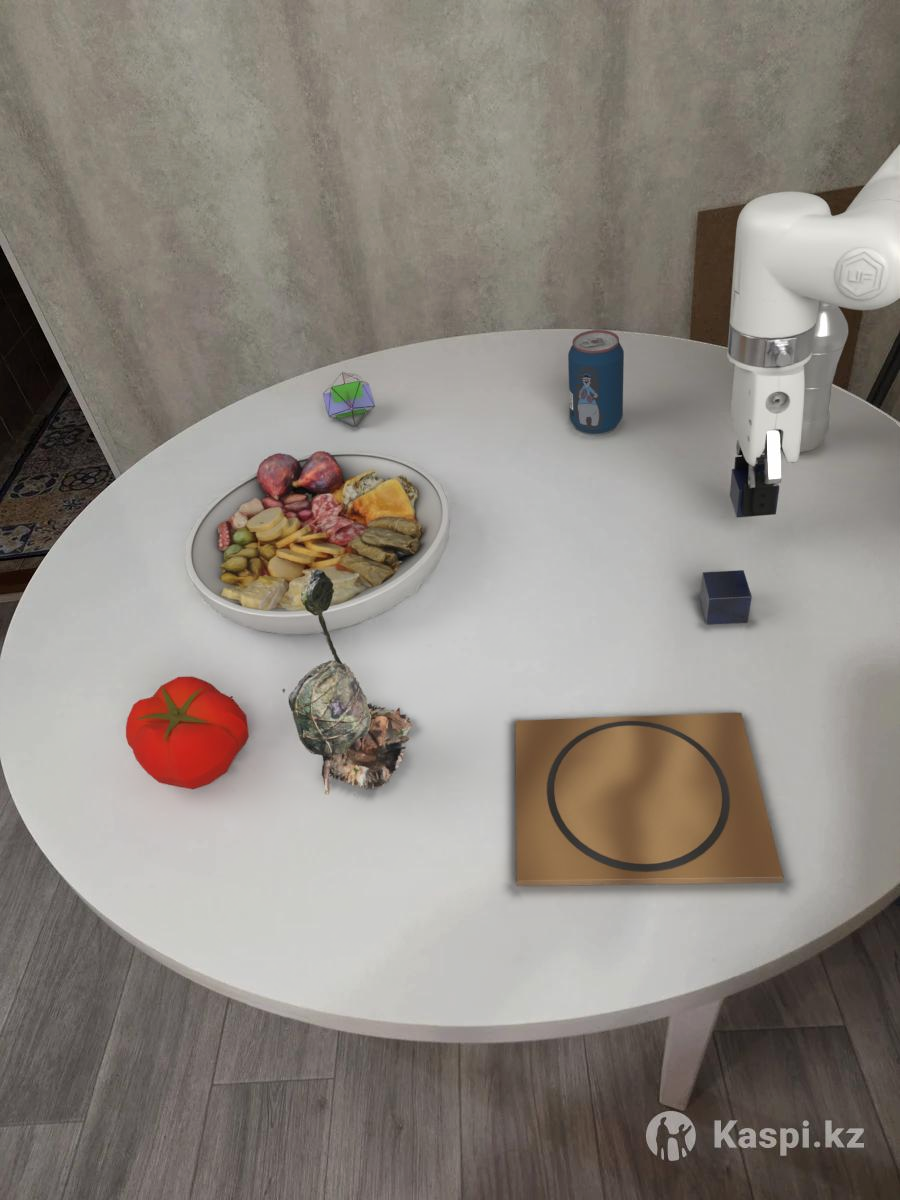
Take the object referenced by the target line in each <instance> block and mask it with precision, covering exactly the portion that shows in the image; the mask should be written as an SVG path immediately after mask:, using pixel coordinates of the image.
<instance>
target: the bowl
mask: <svg viewBox="0 0 900 1200" xmlns="http://www.w3.org/2000/svg"><path fill="white" fill-rule="evenodd" d="M450 527H451V517H450V508H449V502H448V499H447V496H446V493H445V490H444V489H443V487H442V486H441V484H440V483H439V482H438V481H437V480H436V478H435V477H433V476H432V475H431V474H430V473H429V472H428V471H426V470H425V469H423V468H422V467H420V466H419V465H417V464H414V463H413V462H410V461H409V460H406V459H403V458H401V457H397V456H393V455H389V454H384V453H378V452H372V451H359V450H345V451H344V450H343V451H330V452H327V451H324V450H320V451H319V450H318V451H315V452H314V453H312V454H310V455H305V456H301V457H297V458H296V457H294V456H292V455H291V454H287V453H281V452H278V453H274V454H271V455H269V456H268V457H266V458H264V460H262V461H261V463H259V465H258V468H257V471H256V472H255V473H253V474H251V475H249V476H248V477H246V478H244V479H242V480H241V481H239V482H237V483H236V484H234V485H233V486H231V487H229V488H228V489H227V490H225V491H224V492H223V493H222V494H220V495H219V496H218V497H217V498H216V499H214V501H212V502H211V503H210V504H209V505H208V507H207V508H206V509H204V511H203V512H202V514H201V515H200V516H199V517H198V519H197V520H196V522H195V523H194V525H193V527H192V528H191V531H190V533H189V535H188V537H187V540H186V544H185V552H184V555H185V556H184V559H185V566H186V571H187V573H188V575H189V578H190V580H191V582H192V585H193V586H194V589H196V591H197V593H198V594H199V595H200V597H201V598H202V599H203V601H204V602H205V603H207V605H209V607H210V608H211V609H212V610H214V611H216V612H217V613H218V614H220V615H222V616H223V617H224V618H226V619H228V620H230V621H231V622H234V623H236V624H238V625H241V626H244V627H246V628H249V629H252V630H256V631H260V632H263V633H272V634H279V635H309V634H310V635H311V634H319V633H324V632H323V628H322V627H321V624H320V622H319V618H318V615H317V616H315V615H313V614H311V613H310V612H309V611H307V610H306V608H305V606H304V605H303V603H302V601H301V589H302V586H303V584H304V581H305V580H306V578H307V577H308V576H309V575H310V574H311V571H312V570H313V569H315V570H322V571H323V572H324V573H325V574H326V576H327V577H328V578H330V579H331V581H332V583H333V589H334V593H333V597H332V600H331V604H330V606H329V608H328V610H327V611H324V612H322V613H323V617H324V620H325V623H326V627H327V630H328V632H331V631H336V630H340V629H345V628H348V627H351V626H354V625H357V624H360V623H363V622H365V621H368V620H370V619H372V618H375V617H377V616H379V615H382V614H383V613H385V612H387V611H389V610H390V609H392V608H394V607H395V606H397V605H398V604H400V603H402V602H403V601H404V600H406V599H407V598H408V597H409V596H411V595H412V594H413V593H414V592H415V591H416V590H418V589H419V588H420V587H421V586H422V585H423V584H424V583H425V582H426V580H427V579H428V578H429V577H430V576H431V574H432V573H433V572H434V570H435V568H436V567H437V565H438V564H439V562H440V561H441V559H442V557H443V554H444V553H445V550H446V547H447V544H448V540H449V536H450V529H451V528H450Z"/></svg>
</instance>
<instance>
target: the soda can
mask: <svg viewBox="0 0 900 1200" xmlns="http://www.w3.org/2000/svg"><path fill="white" fill-rule="evenodd" d="M624 355H625V351H624V348H623V346H622V344H621V343H620V337H619V335H617V334H616V333H614V332H612V331H610V330H605V329H591V330H587V331H583V332H581V333H579V334H577V335H576V336H575V337H574V338H573V339H572V345H571V347H570V348H569V350H568V354H567V362H568V363H567V365H568V401H569V402H568V404H569V405H568V407H569V408H568V409H569V410H568V411H569V420H570V421H571V423H572V425H573V426H574V427H575V429H576V430H577V431H578V432H579V433H581V434H584V435H589V436H602V435H606V434H610V433H611V432H613V431H614V430H615V429H617V427H618V425H619V424H620V422H621V421H622V419H623V416H624V368H625V367H624V360H625V359H624V358H625V356H624Z"/></svg>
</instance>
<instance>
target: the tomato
mask: <svg viewBox="0 0 900 1200" xmlns="http://www.w3.org/2000/svg"><path fill="white" fill-rule="evenodd" d="M248 725H249V724H248V718H247V714H246V713H245V711H244V710H243V709H242V708H241V707H240V706H239V704H238V702H236V701H235V699H234V698H232V697H231V696H229V695H226V694H225V693H223V692H221V691H220V690H219V689H218V688H216V686H214V685H213V684H212V683H211V682H209V681H206V680H204V679H201V678H198V677H196V676H177V677H175V678H173V679H171V680H170V681H168V682H165V683H163V684H161V685H160V686H159V688H158V689H157V690H156V691H155V693H154V694H153V696H150V697H148V698H142V699H138V700H137V701H136V702H135V703H133V705H132V707H131V710H130V712H129V714H128V716H127V719H126V724H125V738H126V742H127V745H128V746H129V747H130V748H131V750H132V753H133V755H134V758H135V760H136V761H137V763H138V764H139V765H140V766H141V768H142V770H144V771H145V772H146V774H148V775H149V776H150V777H151V778H153V779H154V780H155V781H156V782H158V783H161V784H163V785H168V786H173V787H178V788H183V789H189V790H196V789H198V788H201V787H205V786H207V785H210V784H212V783H213V782H215V781H216V780H217V779H219V778H220V777H222V776H223V775H224V774H226V773H228V770H229V769H230V767H231V765H232V763H233V762H234V760H235V759H236V756H237V755H238V754H239V752H240V751H241V750H242V749H243V747H244V746H245V745H246V744H247V741H248V739H249V737H250V736H249V735H250V734H249V726H248Z"/></svg>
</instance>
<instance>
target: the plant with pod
mask: <svg viewBox="0 0 900 1200" xmlns="http://www.w3.org/2000/svg"><path fill="white" fill-rule="evenodd" d="M333 593H334V589H333V583H332V581H331V579H330V578H328V577H327V576H326V574H325V573H324V572H323V571H322V570H315V569H313V570H312V571H311V574H310V575H309V576H308V577H307V578H306V580H305V581H304V584H303V586H302V589H301V601H302V603H303V605H304V606H305V608H306V610H307V611H309V612H310V613H311V614H313V615H315V616H317V615H318V618H319V622H320V624H321V627H322V628H323V632H322V633H323V634H324V636H325V640H326V643H327V645H328V647H329V650H330V652H331V654H332V656H333V659H334V660H333V659H332V660H328V661H326V662H322V663H320V664H319V665H316V666H314V667H313V668H311V669H310V670H309V671H308V672H307V673H306V674H305V675H304V676H303V677H302V678H301V679H300V680H299V681H298V683H297V686H296V687H295V688H294V689H293V690H292V691H291V692H290V694H289V695H288V705H289V708H290V711H291V712H292V718H293V721H294V725H295V727H296V731H297V735H298V738H299V740H300V741H301V744H302V745H303V747H304V748H305V749H306V750H307V751H308V753H310V754H311V755H315V756H316V755H318V756H322V761H323V764H322V767H321V776H322V779H323V784H324V794H325V795H326V796H327V795H329V794H330V791H331V790H330V789H331V788H330V783H331V782H330V777H332V778H333V779H336V780H340V781H342V782H344V783H345V784H346V785H349V784H350V783H351V784H352V785H351V786H352V787H355V786H356V787H357V788H358V787H359V788H361V787H362V789H365V790H369V789H370V790H373V789H374V788H380V787H383V785H385V784H387V782H389V779H391V777H392V776H393V775H394V773H395V772H396V770H397V769H398V768H400V764H401V762H403V761H405V759H404V758H405V756H404V755H405V754H404V751H405V749H406V746H405V745H404V744H405V743H407V742H408V741H409V740H410V738H409V736H408V733H409V732H410V730H411V728H412V727H413V726H414V724H413V723H412V721H411V719H410V717H408V718H407V714H401V709H400V707H398V708H397V709H396V710H395V711H394V709H391V710H390V709H386V707H380V706H379V707H377V705H376V704H374V705H373V704H372V703H368V698H367V695H365V694H364V691H363V689H362V687H361V686H360V682H359V681H358V680H357V678H356V677H355V674H354V672H353V671H351V668H350V667H349V666H348V665H347V663H343V662H342V660H341V659H340V657H339V655H338V653H337V650H336V648H335V646H334V642H333V640H332V638H331V636H330V633H329V631H328V630H327V627H326V623H325V620H324V617H323V613H322V612H324V611H327V610H328V608H329V606H330V604H331V600H332V597H333ZM281 690H282V692H283V694H285V693H286V689H285V688H282V689H281Z"/></svg>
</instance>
